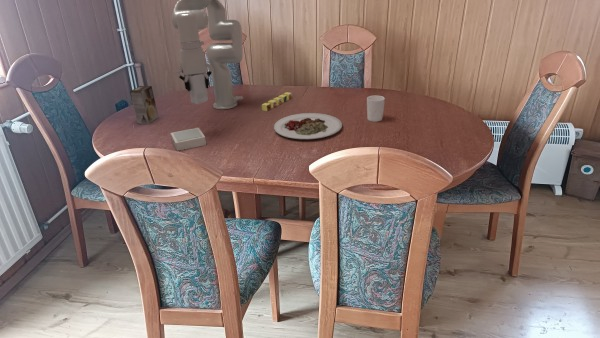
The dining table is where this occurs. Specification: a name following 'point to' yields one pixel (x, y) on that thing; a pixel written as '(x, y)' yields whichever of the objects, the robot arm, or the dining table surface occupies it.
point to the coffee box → (144, 104)
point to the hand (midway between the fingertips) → (197, 88)
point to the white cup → (375, 108)
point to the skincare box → (197, 88)
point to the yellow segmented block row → (276, 101)
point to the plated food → (308, 126)
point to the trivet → (188, 139)
